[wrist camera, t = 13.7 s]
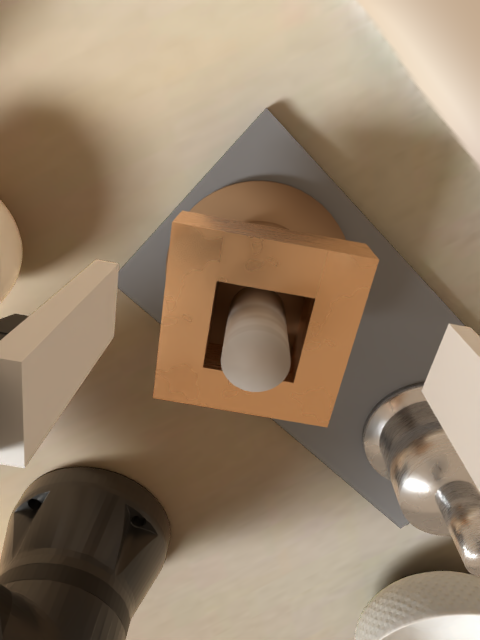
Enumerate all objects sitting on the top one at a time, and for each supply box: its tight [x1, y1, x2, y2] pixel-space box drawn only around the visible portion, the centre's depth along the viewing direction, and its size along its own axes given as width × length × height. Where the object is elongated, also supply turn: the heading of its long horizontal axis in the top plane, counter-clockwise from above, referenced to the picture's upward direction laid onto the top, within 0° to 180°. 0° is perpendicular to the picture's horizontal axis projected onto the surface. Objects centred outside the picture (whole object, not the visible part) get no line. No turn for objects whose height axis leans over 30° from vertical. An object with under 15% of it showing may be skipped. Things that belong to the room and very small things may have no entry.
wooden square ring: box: [153, 211, 379, 427], centre depth 25 cm, size 10×10×3 cm
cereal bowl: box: [355, 571, 480, 640], centre depth 44 cm, size 17×17×7 cm
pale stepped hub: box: [362, 382, 480, 577], centre depth 32 cm, size 10×10×12 cm
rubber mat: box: [118, 108, 465, 528], centre depth 35 cm, size 34×16×1 cm, turn 46°
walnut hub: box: [165, 180, 346, 392], centre depth 27 cm, size 13×13×13 cm
